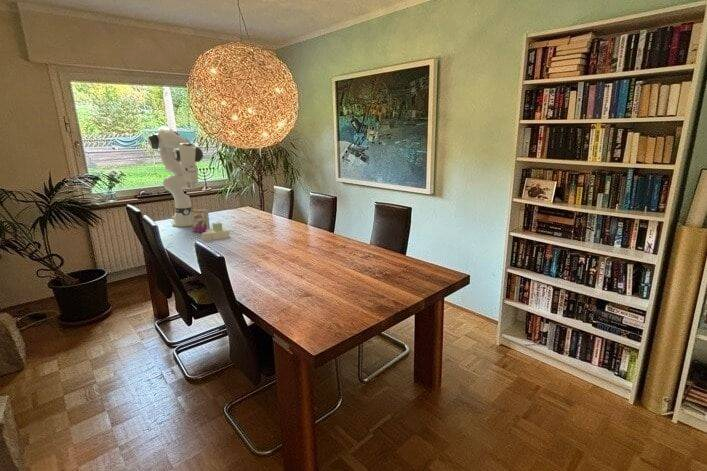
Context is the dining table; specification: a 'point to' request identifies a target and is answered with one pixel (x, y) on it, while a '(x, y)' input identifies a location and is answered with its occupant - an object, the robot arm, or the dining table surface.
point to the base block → (219, 233)
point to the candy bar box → (200, 220)
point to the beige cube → (206, 236)
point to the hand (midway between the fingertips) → (191, 188)
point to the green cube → (217, 226)
